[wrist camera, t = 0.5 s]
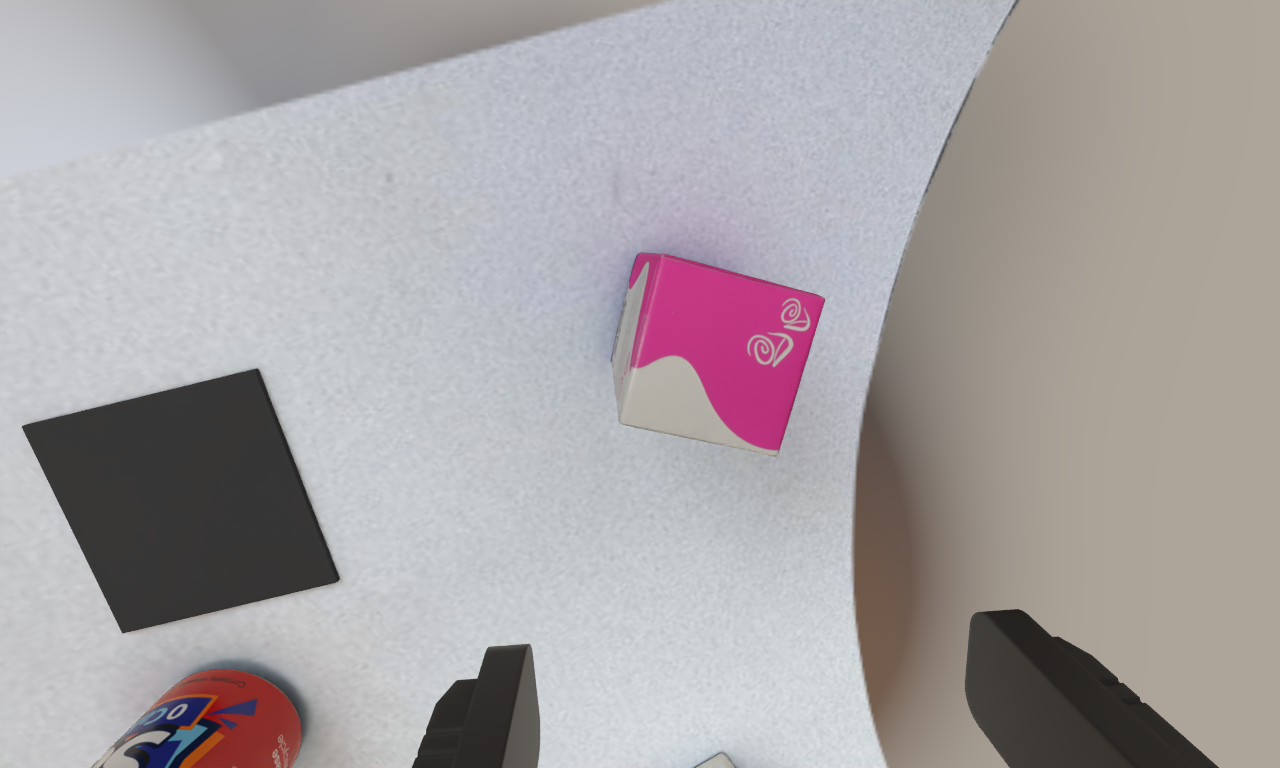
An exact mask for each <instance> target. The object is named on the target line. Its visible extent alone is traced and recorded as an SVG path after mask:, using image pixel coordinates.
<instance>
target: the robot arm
mask: <svg viewBox="0 0 1280 768" xmlns="http://www.w3.org/2000/svg"><path fill="white" fill-rule="evenodd" d="M965 692H966V698H967V702H968V705H969V708H970V711H971V713H972V715H973V717H974V719H975V721H976V723H977V724H978V725H979V727H980V728H981V730H982V731H983V732H984V734H985V735H986V736H987V737H988V739H989V740H990V742H991V743H992V744H993V746H994V747H995V748H996V750H997V751H998V752H999V754H1000V755H1001V757H1002V758H1003V759H1004V761H1005V762H1006V763H1007V764H1008V766H1009V767H1010V768H1219V767H1218V766H1217V765H1215V764H1214V763H1213V762H1212V761H1211V760H1209V758H1207V757H1206V756H1205V755H1204V754H1203V753H1202V752H1201V751H1200V750H1198V749H1197V748H1196V747H1195V746H1194V745H1193V744H1192V743H1191V742H1189V741H1188V740H1187V739H1186V738H1185V737H1184V736H1183V735H1181V734H1180V733H1179V732H1178V731H1177V730H1176V729H1174V727H1172V726H1171V725H1170V724H1169V723H1168V722H1167V721H1166V720H1164V719H1163V718H1162V717H1161V716H1160V715H1159V714H1158V713H1157V712H1155V711H1154V710H1153V709H1152V708H1151V707H1150V706H1149V705H1147V704H1146V703H1142V702H1141V701H1140V697H1138V696H1137V695H1136V694H1135V693H1134V692H1133V691H1132V690H1131V689H1129V688H1128V687H1127V686H1126V685H1125V684H1124V683H1119V681H1118V678H1117V677H1116V676H1115V675H1114V674H1112V673H1111V672H1110V671H1109V670H1108V669H1107V668H1106V667H1104V666H1103V665H1102V664H1101V663H1100V662H1099V661H1098V660H1097V659H1095V658H1094V657H1093V656H1092V655H1090V654H1089V653H1087V652H1084V651H1083V650H1081V649H1080V648H1078V647H1076V646H1074V645H1072V644H1071V643H1069V642H1067V641H1065V640H1063V639H1062V638H1060V637H1052V636H1051V635H1049V634H1048V633H1047V632H1046V631H1045V630H1044V629H1043V628H1042V627H1041V626H1040V625H1039V624H1037V622H1035V621H1034V620H1033V619H1032V618H1031V617H1030V616H1029V615H1028V614H1027V613H1025V612H1024V611H1022V610H1019V609H1015V610H1001V611H987V612H977V613H975V614H974V615H973V616H972V618H971V621H970V630H969V642H968V654H967V665H966V677H965ZM539 749H540V716H539V706H538V697H537V689H536V680H535V671H534V662H533V653H532V648H531V645H530V644H522V645H508V646H495V647H488V648H487V650H486V653H485V656H484V659H483V663H482V666H481V669H480V672H479V676H478V679H468V680H457V681H456V682H455V683H454V684H453V685H452V686H451V687H450V688H449V690H448V691H447V692H446V693H445V694H444V695H443V696H442V698H441V699H440V700H439V701H438V702H437V703H436V705H435V708H434V711H433V713H432V716H431V719H430V721H429V724H428V727H427V729H426V735H424V737H423V740H422V742H421V745H420V748H419V750H418V757H417V758H415V761H414V764H413V766H412V768H537V766H538V759H539Z"/></svg>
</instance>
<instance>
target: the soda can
mask: <svg viewBox="0 0 1280 768" xmlns="http://www.w3.org/2000/svg"><path fill="white" fill-rule="evenodd" d="M301 742H302V728H301V722H300V718H299V716H298V713H297V711H296V709H295V707H294V705H293V704H292V702H291V701H290V700H289V698H288V697H287V696H286V695H285V694H284V693H283V692H282V691H281V690H280V689H279V688H277V687H276V686H275V685H273V684H272V683H270V682H269V681H267V680H265V679H263V678H261V677H259V676H257V675H254V674H251V673H248V672H244V671H240V670H233V669H214V670H208V671H203V672H199V673H196V674H193V675H191V676H189V677H187V678H185V679H183V680H181V681H180V682H178V683H177V684H176V685H175V686H173V687H172V688H171V689H170V690H168V691H167V692H166V693H165V694H164V695H163V696H162V697H161V698H160V699H159V700H158V701H157V702H156V703H155V704H154V705H153V706H152V707H151V708H150V709H149V710H148V711H147V712H146V713H145V714H144V715H143V716H142V717H141V718H140V719H139V720H138V721H137V722H136V723H135V724H134V725H133V726H132V727H131V728H130V729H129V730H128V731H127V732H126V733H125V734H124V735H123V736H122V737H121V738H120V739H119V740H118V741H117V742H116V743H115V744H114V745H113V746H112V747H111V748H110V749H109V750H108V751H107V752H106V753H105V754H104V755H103V756H102V757H101V758H100V759H99V760H98V761H97V762H96V763H95V764H94V765H93V766H92V767H91V768H291V767H292V766H293V764H294V762H295V760H296V758H297V756H298V753H299V751H300V747H301Z"/></svg>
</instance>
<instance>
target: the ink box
mask: <svg viewBox="0 0 1280 768" xmlns="http://www.w3.org/2000/svg"><path fill="white" fill-rule="evenodd" d="M696 768H735V767H734V765H733V764H732V763H731V761H730V760H729V759H728V757H727V756H726V755H725V754H723V753H720V754H718V755H717V756H715V757H714V758H712V759H710V760H708V761H707V762H705V763H703V764H701V765H700V766H698V767H696Z"/></svg>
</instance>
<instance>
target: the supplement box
mask: <svg viewBox="0 0 1280 768" xmlns="http://www.w3.org/2000/svg"><path fill="white" fill-rule="evenodd" d="M824 302H825V298H823V297H821V296H819V295H816V294H813V293H809V292H805V291H801V290H798V289H794V288H790V287H787V286H783V285H779V284H776V283H772V282H768V281H765V280H761V279H757V278H753V277H750V276H746V275H742V274H738V273H735V272H731V271H727V270H724V269H720V268H717V267H713V266H709V265H705V264H702V263H698V262H694V261H690V260H686V259H683V258H679V257H675V256H671V255H667V254H656V253H643V252H641V253H639V254H637V256H636V259H635V262H634V265H633V269H632V272H631V276H630V280H629V284H628V288H627V292H626V296H625V300H624V304H623V308H622V312H621V316H620V321H619V325H618V329H617V334H616V338H615V342H614V347H613V352H612V357H611V362H612V367H613V374H614V383H615V392H616V400H617V409H618V416H619V422H620V424H623V425H627V426H632V427H636V428H641V429H646V430H651V431H656V432H660V433H665V434H670V435H675V436H680V437H685V438H690V439H695V440H700V441H704V442H709V443H714V444H719V445H724V446H730V447H735V448H739V449H744V450H748V451H753V452H757V453H762V454H767V455H770V456H777V455H778V453H779V450H780V446H781V443H782V440H783V437H784V434H785V430H786V427H787V424H788V420H789V417H790V414H791V410H792V407H793V404H794V401H795V397H796V394H797V391H798V388H799V384H800V381H801V377H802V374H803V371H804V367H805V364H806V361H807V358H808V355H809V351H810V348H811V344H812V341H813V338H814V335H815V331H816V328H817V324H818V321H819V318H820V315H821V311H822V308H823V305H824Z"/></svg>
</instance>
